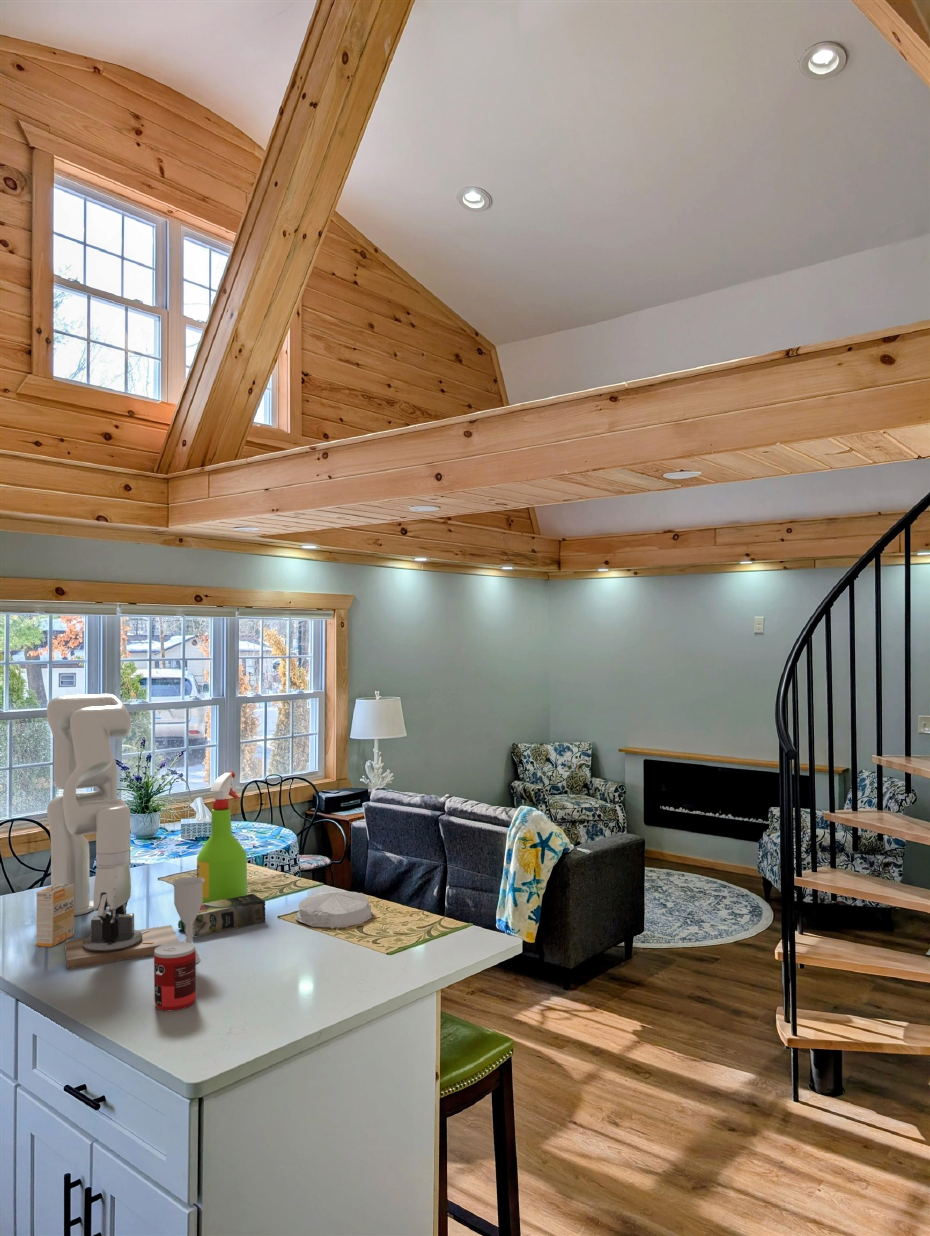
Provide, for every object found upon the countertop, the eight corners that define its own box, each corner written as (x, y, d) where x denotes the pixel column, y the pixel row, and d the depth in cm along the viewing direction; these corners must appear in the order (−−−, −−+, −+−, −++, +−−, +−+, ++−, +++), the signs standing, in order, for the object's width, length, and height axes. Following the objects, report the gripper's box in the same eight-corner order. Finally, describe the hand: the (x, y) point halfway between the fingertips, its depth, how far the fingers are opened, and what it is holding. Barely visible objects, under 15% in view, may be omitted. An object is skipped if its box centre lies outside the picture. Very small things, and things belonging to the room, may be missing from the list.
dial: (76, 954, 196) (76, 927, 196) (90, 935, 209) (90, 909, 209) (136, 949, 199) (136, 922, 199) (146, 931, 211) (146, 906, 212)
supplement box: (53, 947, 207) (53, 892, 208) (35, 946, 208) (35, 891, 209) (75, 936, 215) (75, 883, 216) (58, 935, 216) (57, 882, 217)
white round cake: (375, 906, 238) (374, 880, 238) (369, 928, 218) (368, 901, 218) (301, 908, 237) (301, 883, 238) (289, 931, 217) (289, 904, 218)
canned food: (160, 996, 177) (159, 942, 177) (199, 994, 178) (199, 940, 178) (149, 1012, 169) (149, 955, 170) (191, 1010, 170) (190, 953, 170)
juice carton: (188, 939, 212) (188, 914, 212) (176, 929, 220) (176, 905, 220) (266, 924, 223) (266, 900, 224) (252, 915, 231) (252, 892, 232)
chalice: (211, 957, 199) (210, 878, 199) (193, 968, 192) (192, 886, 193) (184, 954, 201) (184, 876, 202) (165, 964, 195) (165, 884, 195)
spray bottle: (260, 888, 255) (259, 769, 256) (235, 907, 237) (234, 778, 238) (216, 887, 256) (215, 769, 257) (188, 906, 238) (187, 778, 239)
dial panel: (65, 949, 206) (65, 940, 206) (171, 933, 216) (171, 924, 216) (67, 969, 193) (67, 959, 193) (179, 950, 204) (179, 941, 204)
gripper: (114, 849, 213) (115, 925, 212) (80, 867, 196) (80, 949, 196) (144, 849, 212) (144, 925, 212) (112, 867, 196) (113, 949, 195)
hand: (114, 935), depth 204 cm, fingers closed on dial, 3 cm apart
